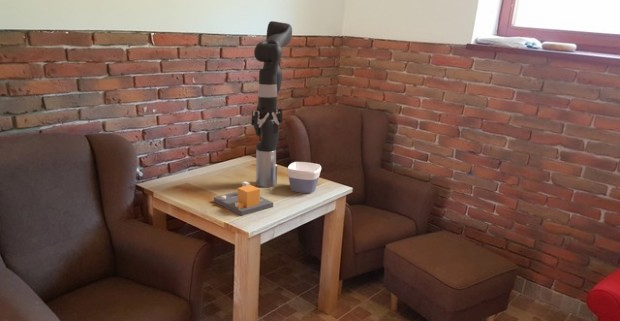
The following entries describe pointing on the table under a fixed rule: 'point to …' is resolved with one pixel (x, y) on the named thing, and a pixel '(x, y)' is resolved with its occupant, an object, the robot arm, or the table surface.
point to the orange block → (249, 195)
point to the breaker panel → (241, 204)
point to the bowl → (303, 176)
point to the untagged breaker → (245, 184)
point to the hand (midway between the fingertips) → (267, 134)
